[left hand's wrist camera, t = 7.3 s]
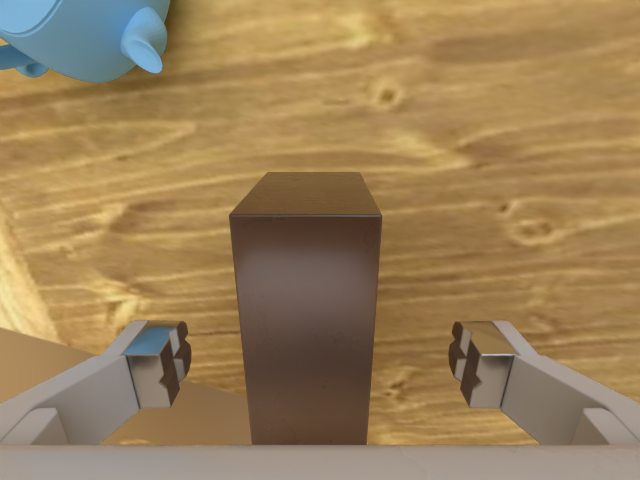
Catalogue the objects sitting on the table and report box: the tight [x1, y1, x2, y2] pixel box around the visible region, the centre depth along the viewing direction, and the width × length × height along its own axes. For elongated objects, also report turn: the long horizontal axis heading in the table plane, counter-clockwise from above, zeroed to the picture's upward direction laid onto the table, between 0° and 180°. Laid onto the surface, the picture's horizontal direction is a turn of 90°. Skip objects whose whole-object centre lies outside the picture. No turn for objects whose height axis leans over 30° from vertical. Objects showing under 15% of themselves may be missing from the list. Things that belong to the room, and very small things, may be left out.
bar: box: [229, 172, 382, 445], centre depth 21 cm, size 26×5×8 cm, turn 0°
